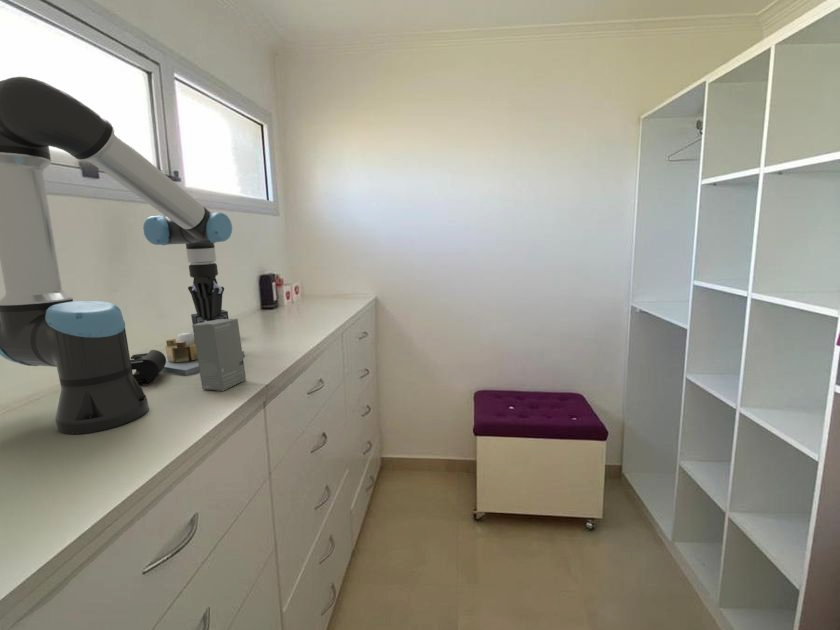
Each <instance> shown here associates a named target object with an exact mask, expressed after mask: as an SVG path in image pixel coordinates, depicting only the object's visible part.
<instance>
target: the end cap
mask: <svg viewBox="0 0 840 630" xmlns="http://www.w3.org/2000/svg"><path fill="white" fill-rule="evenodd" d="M165 357H166V356H165V354H164V353H163V352H162V351H160V350H156V349H151V350H150V351H149V352H145V353H139V354H136V353H135V354H132V356H130V361H131V367H132V371H133V370H135V372H133V376H134V377H135V379H136V381H137V382H138V384H139V386H140V387H141V386H147V385H150V384H152V383H153V382H154V381H155V380H156V379H157V378H158V377H159V375H160V373H162V372H161V371H162V369H163V368H164V366H165V364H166V358H165Z"/></svg>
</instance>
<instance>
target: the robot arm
mask: <svg viewBox="0 0 840 630" xmlns="http://www.w3.org/2000/svg"><path fill="white" fill-rule="evenodd" d="M50 147H52V148H56V149H59V150H62V151H64V152H66V153H67V154H69V155H71V156H72V157H74V159H76V160H78V161H88V162H89V163H91V164H93V165H94V166H95V167H96V168H98V169H99V170H101V171H102V172H103V173H105V174H106V175H107V176H109V177H110V178H112V179H113V180H115V181H116V182H118V183H119V184H120V185H122V186H123V187H125V188H126V189H127V190H128V191H130V192H131V193H132V194H133V195H136V196H137V197H139V198H140V199H141V200H143V201H144V202H145V203H147V204H148V205H149V206H151V207H152V208H154V209H155V210H156V211H157V212H159V213H161V214H162V215H161V214H160V215H151V216H148V217H147V218H146V219H145V220H144V223H143V225H142V227H143V228H142V229H143V235H144V237H145V239H146V240H147V241H148V242H149V243H150V244H152V245H155V246H167V245H169V246H170V245H185V247H186V248H185V249H186V250H185V251H186V257H187V258H186V259H187V263H189V265H188V270H189V276H190V278H193V282H192V284H191V285H190V286H188V287H187V290H188V291H189V293H190V295H191V298H192V301H193V305H194V308H195V312H196V314H197V315H198V317H199V318H200V317H201V318H202V319H203V320H204V322H206V321H212V320H216V319H217V318H220V317H221V311H222V310H223V308H222V307H223V294H224V290H225V287H224V286H220V285H219V284H218V280H217V279H216V277H217V276H218V274H219V272H218V263H215V262H217V256H216V255H217V254H216V250H215V249H216V248H215V243H219V242H226V241H227V240H229V239H230V238H231V235H232V232H233V224H232V221H231V219H230V218H229V216H228V215H227V214H225V213H223V212H217V211H213V212H211V211H210V210H209V209H207V208H206V207H205V206H203V205H202V203H200V202H199V201H197V200H196V198H194V197H193V196H192V195H190V193H188V192H187V191H185V190H184V189H183V188H182V187H181V186H179V185H178V184H177V183H176V182H175V181H173V180H172V179H171V177H168V176H167V175H166V174H165V173H164V172H163V171H162V170H160V169H159V168H158V167H157V166H155V165H154V164H153V163H152V162H151V161H150V160H148V158H146V157H144V155H142V154H141V153H139V152H138V150H136V149H135V148H134V147H132V146H131V145H130V144H129V143H128V142H126V141H125V140H124V139H122V138H121V137H120V135H118V134H117V133H115V128H114V125H113V124H112V123H111V122H110V121H109V120H107V119H106V118H105V116H103V115H101V113H99V112H97V110H96V109H94V108H93V107H91V106H90V105H89V104H87V103H86V102H84V101H83V100H82V99H80V98H78V97H77V96H75V95H74V94H72V93H70V92H69V91H67V90H65V89H64V88H61V87H59V86H57V85H55V84H53V83H51V82H48V81H46V80H43V79H39V78H35V77H30V76H13V77H10V78H5V79H2V80H0V268H1V273H2V279H3V283H4V289H5V294H4V296H3V297H1V299H0V357H2V358H4V359H5V360H7V361H9V362H12V363H16V364H20V365H24V366H28V367H30V366H32V367H40V366H41V367H51V368H52V367H56V370H57V374H58V375H57V376H58V378H59V379H58V380H59V383H60V384H59V385H60V395H59V399H58V405H57V409H56V413H55V414H56V415H55V424H56V428H57V431H58V432H59V433H63V434H69V435H74V434H75V435H78V434H89V433H93V432H100V431H104V430H108V429H112V428H116V427H119V426H122V425H125V424H127V423H130V422H132V421H134V420H137V419H139V418H140V417H142V416H144V415H145V414H146V413H148V411H149V402H148V397H147V395H146V394H145V392H144V391H143V389H142V387H141V386H139V384H138V382H137V381H136V379H135V377H134V376H133V374H134V372H133V370H132V367H131V361H130V360H131V356H130V351H129V344H128V337H127V332H126V323H125V320H124V316H123V314H122V311H121V309H120V307H119V306H117V305H116V304H114V303H112V302H109V301H108V302H107V301H102V300H101V301H99V300H91V301H89V300H88V301H87V300H77V301H73V296H71V295H70V294H69V293H67V292H65V291H64V290H63V287H62V282H61V276H60V271H59V264H58V259H57V258H58V257H57V251H56V245H55V244H56V243H55V238H54V231H53V226H52V220H51V214H50V207H49V201H48V200H49V199H48V194H47V189H46V184H45V176H44V171H45V170H46V169H47V168H49V166H50V165H51V164H52V158H51V152H50Z"/></svg>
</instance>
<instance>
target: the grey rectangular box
mask: <svg viewBox="0 0 840 630" xmlns="http://www.w3.org/2000/svg"><path fill="white" fill-rule="evenodd" d="M238 319H239V318H229V319H217V320H212V321H206V322H202V323H198V324H191V326H192V330H193V332H192V333H193V335H194V339H195V345H196V351H197V358H198V364H199V370H200V371H199V377H200V382H201V388H202V390H211V391H219V392H220V391H221V392H224V390H225V391H227V390H228V388H229V389H230V387H231V388H233V387H235V386H237V385H238V383H239V384H241V383H242V382H245V381H246V380H247V377H246V370H245V362H244V356H243V354H242V351H243V348H242V342H241V341H242V340H241V334H240V333H241V332H240V327H239V320H238ZM240 382H241V383H240ZM236 384H237V385H236ZM234 385H235V386H234ZM232 386H233V387H232Z"/></svg>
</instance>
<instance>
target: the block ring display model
mask: <svg viewBox="0 0 840 630" xmlns="http://www.w3.org/2000/svg"><path fill="white" fill-rule="evenodd" d="M193 335H194V332H182V333H179V334H177V342H178V341H186V346H188V345H192V344H195V343H194V336H193ZM242 354H243V357H245V351H243V350H242ZM165 358H166V364H165V366H164V368H163V369H162V371H161V372H160V373H167V374H173V375H179V376H187V377H188V376H190V375H193V374H196V373H200V370H199V364H198V359H196V360H190V361H185V362H171V361H168V359H167V356H165Z"/></svg>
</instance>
